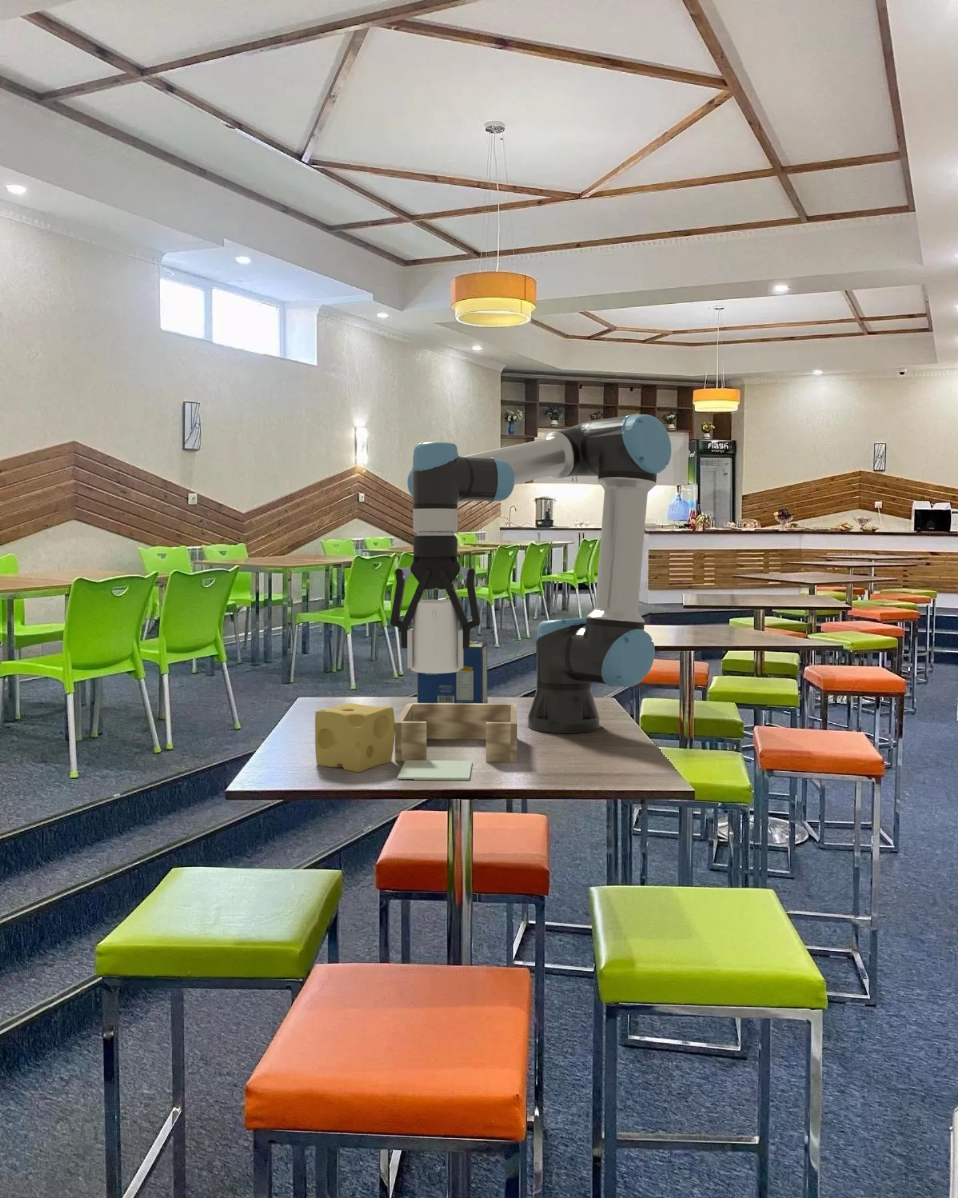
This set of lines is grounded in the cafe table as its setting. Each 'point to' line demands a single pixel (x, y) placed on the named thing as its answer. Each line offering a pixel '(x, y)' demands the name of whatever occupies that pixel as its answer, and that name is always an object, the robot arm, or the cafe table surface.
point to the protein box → (458, 680)
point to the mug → (435, 637)
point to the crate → (457, 728)
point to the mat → (435, 770)
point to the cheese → (354, 736)
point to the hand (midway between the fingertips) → (435, 667)
